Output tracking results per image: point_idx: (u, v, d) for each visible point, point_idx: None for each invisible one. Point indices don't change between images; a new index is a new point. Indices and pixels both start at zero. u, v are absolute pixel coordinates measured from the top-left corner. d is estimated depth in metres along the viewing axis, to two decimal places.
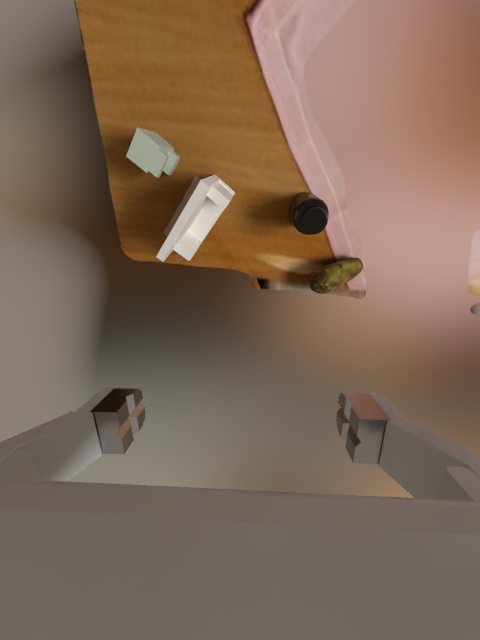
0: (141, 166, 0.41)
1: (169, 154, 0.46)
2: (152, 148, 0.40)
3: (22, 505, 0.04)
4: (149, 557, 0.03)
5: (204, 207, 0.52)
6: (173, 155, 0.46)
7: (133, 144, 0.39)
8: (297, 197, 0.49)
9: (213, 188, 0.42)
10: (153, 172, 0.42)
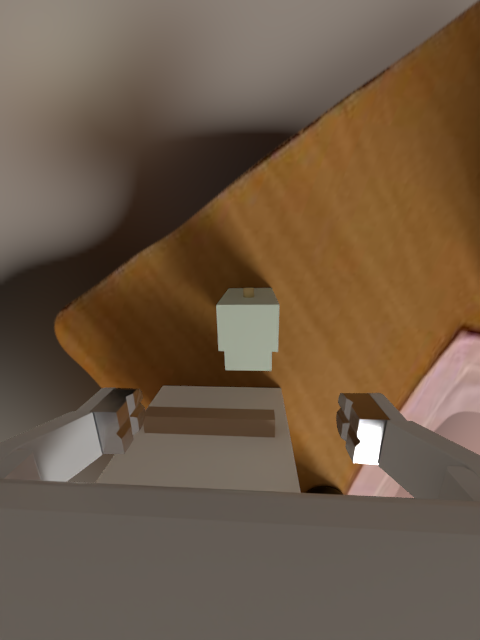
0: (221, 337, 0.19)
1: None
2: (265, 343, 0.19)
3: (22, 506, 0.04)
4: (149, 557, 0.03)
5: None
6: None
7: (246, 309, 0.18)
8: None
9: None
10: (228, 361, 0.20)
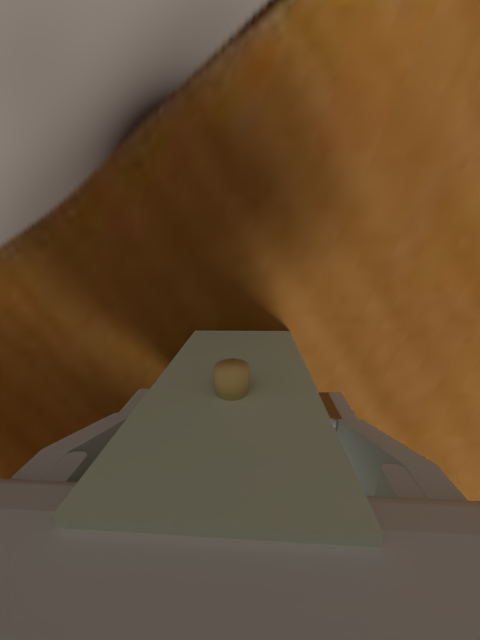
0: None
1: None
2: None
3: (23, 506, 0.04)
4: (149, 557, 0.03)
5: None
6: None
7: None
8: None
9: None
10: None
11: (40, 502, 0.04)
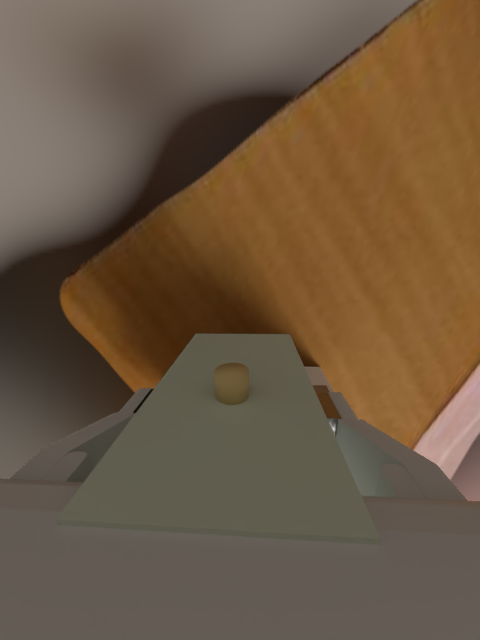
0: None
1: None
2: None
3: (22, 506, 0.04)
4: (149, 557, 0.03)
5: None
6: None
7: None
8: None
9: None
10: None
11: (40, 502, 0.04)
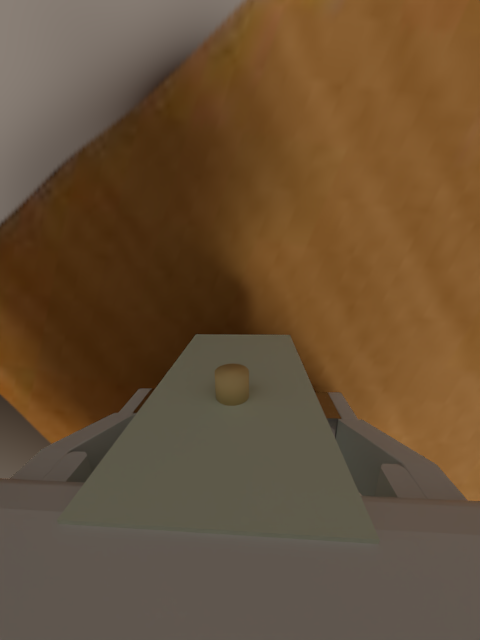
0: None
1: None
2: None
3: (22, 506, 0.04)
4: (149, 557, 0.03)
5: None
6: None
7: None
8: None
9: None
10: None
11: (40, 502, 0.04)
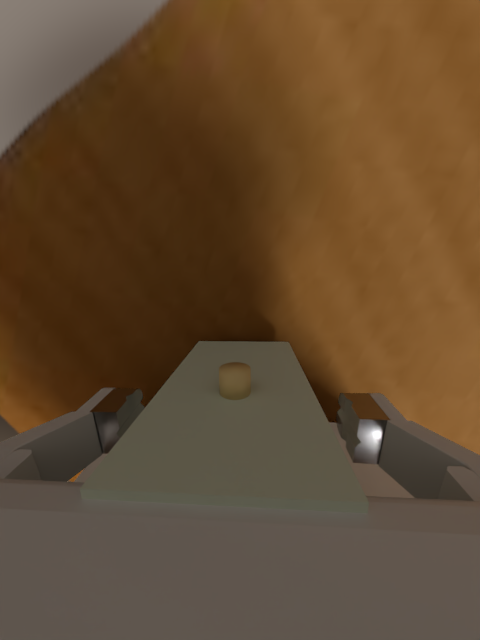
0: None
1: None
2: None
3: (22, 506, 0.04)
4: (149, 557, 0.03)
5: None
6: None
7: None
8: None
9: None
10: None
11: (40, 502, 0.04)
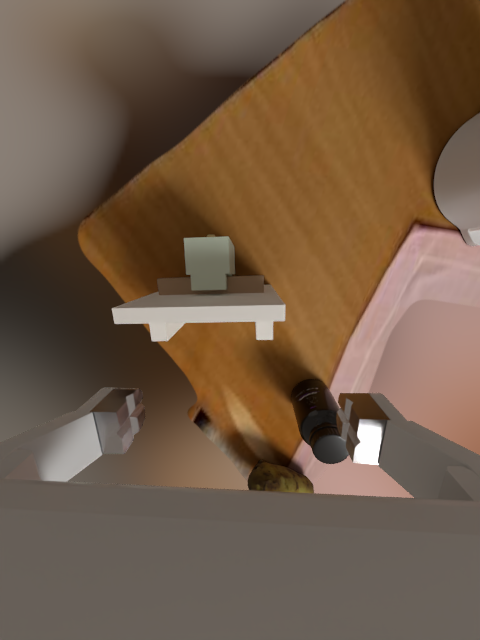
0: (188, 264, 0.26)
1: (226, 276, 0.33)
2: (220, 267, 0.26)
3: (22, 505, 0.04)
4: (149, 557, 0.03)
5: None
6: None
7: (205, 240, 0.25)
8: (319, 385, 0.37)
9: None
10: (194, 283, 0.26)
11: (40, 502, 0.04)
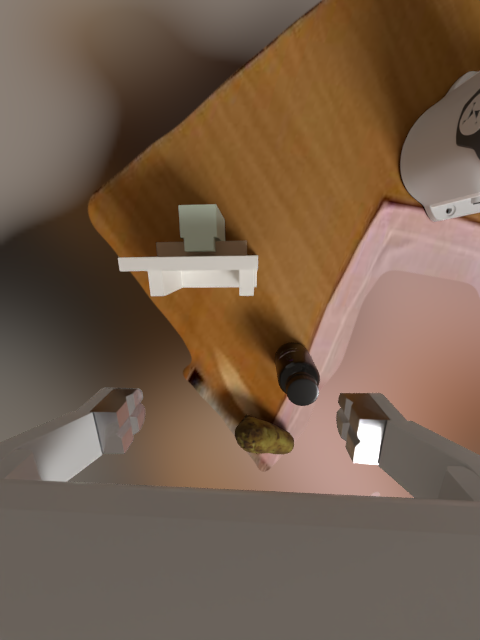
0: (182, 227, 0.31)
1: None
2: (209, 230, 0.30)
3: (22, 506, 0.04)
4: (149, 557, 0.03)
5: None
6: None
7: (196, 208, 0.30)
8: (298, 346, 0.42)
9: None
10: (186, 244, 0.31)
11: (40, 502, 0.04)
